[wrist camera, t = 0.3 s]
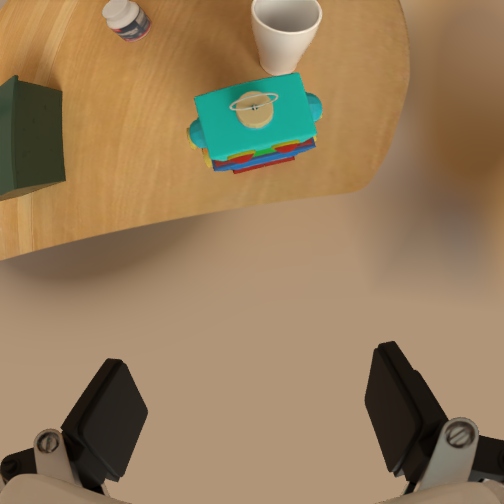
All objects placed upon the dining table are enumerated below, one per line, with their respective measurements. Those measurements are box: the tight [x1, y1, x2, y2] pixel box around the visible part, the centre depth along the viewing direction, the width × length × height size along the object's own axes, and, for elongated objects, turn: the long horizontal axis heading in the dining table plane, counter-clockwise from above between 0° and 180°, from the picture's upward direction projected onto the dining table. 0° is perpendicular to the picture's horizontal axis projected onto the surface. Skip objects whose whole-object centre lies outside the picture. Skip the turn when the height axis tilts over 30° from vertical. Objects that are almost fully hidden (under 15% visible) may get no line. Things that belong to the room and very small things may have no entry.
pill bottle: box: [102, 0, 151, 42], centre depth 25 cm, size 5×5×9 cm
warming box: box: [0, 80, 66, 201], centre depth 30 cm, size 17×14×12 cm
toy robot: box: [187, 73, 322, 174], centre depth 24 cm, size 12×6×25 cm, turn 104°
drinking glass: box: [251, 0, 322, 76], centre depth 25 cm, size 7×7×15 cm
